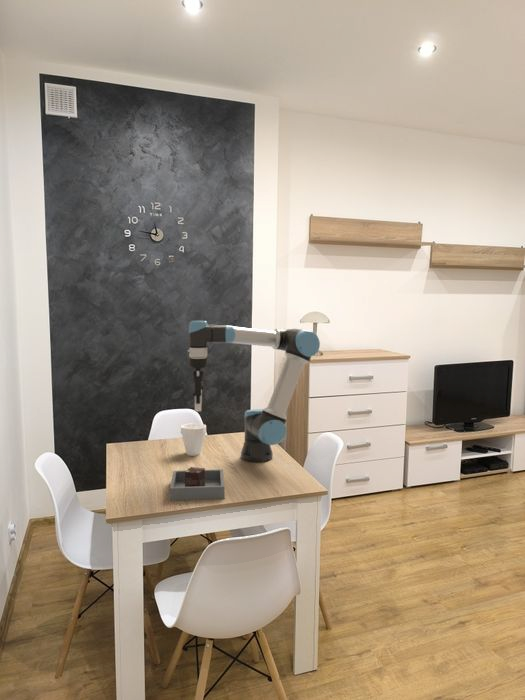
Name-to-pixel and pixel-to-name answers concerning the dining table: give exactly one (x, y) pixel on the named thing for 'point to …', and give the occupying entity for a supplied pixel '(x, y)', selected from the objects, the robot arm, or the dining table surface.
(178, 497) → the bin
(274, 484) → the dining table surface
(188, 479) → the box
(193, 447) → the cup
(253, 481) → the dining table surface
